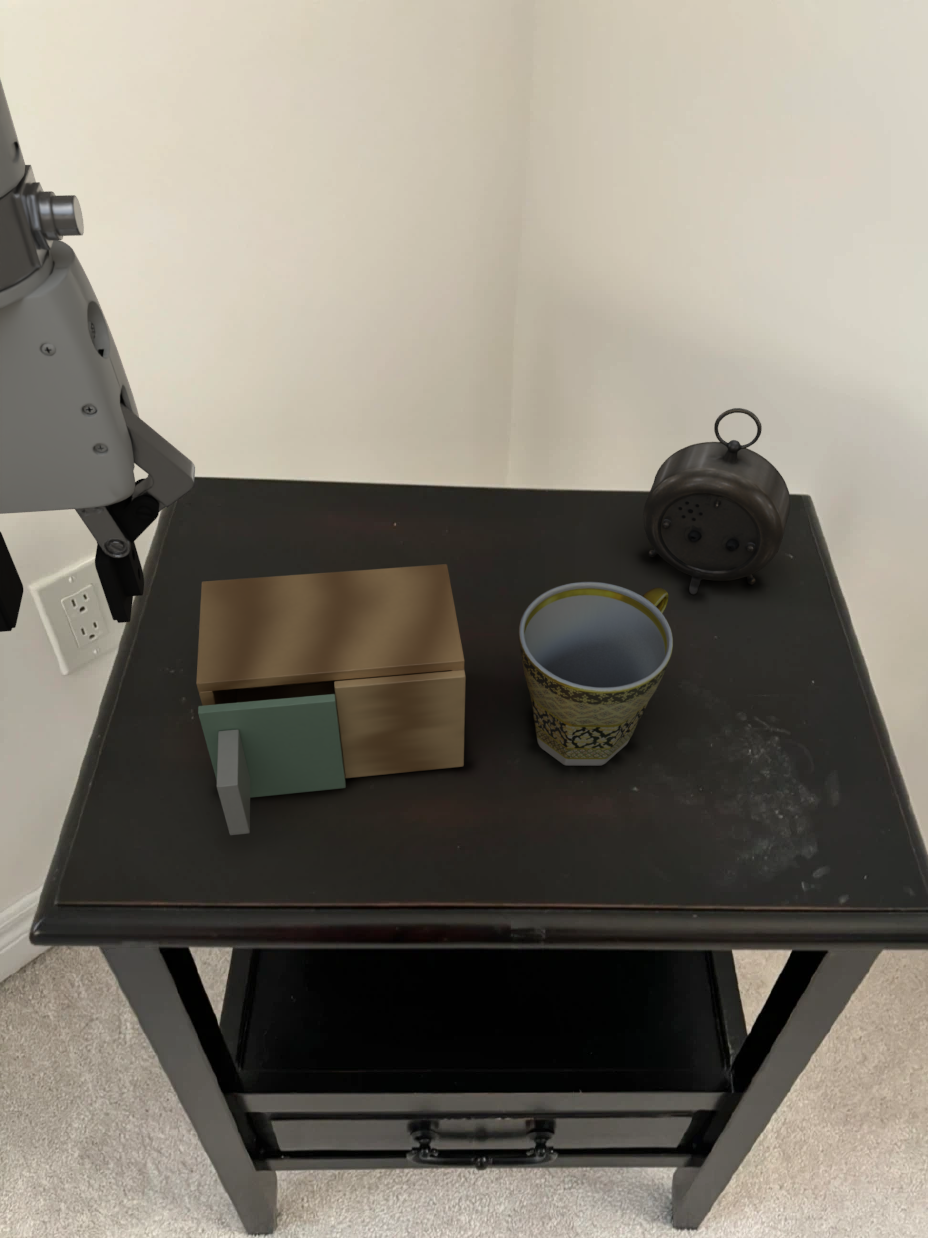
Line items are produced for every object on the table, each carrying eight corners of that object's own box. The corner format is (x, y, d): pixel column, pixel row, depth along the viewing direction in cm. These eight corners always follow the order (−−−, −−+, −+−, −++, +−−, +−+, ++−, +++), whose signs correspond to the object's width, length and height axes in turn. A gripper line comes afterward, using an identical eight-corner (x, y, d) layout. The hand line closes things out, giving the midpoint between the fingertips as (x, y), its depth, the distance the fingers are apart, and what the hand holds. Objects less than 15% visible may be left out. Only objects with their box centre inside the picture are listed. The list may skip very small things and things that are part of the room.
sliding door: (220, 856, 64) (194, 770, 58) (222, 793, 67) (198, 705, 61) (349, 842, 65) (339, 756, 59) (345, 781, 69) (334, 693, 62)
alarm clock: (769, 575, 86) (822, 406, 74) (758, 617, 83) (812, 447, 71) (643, 542, 88) (674, 373, 76) (627, 582, 85) (657, 411, 73)
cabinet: (224, 798, 68) (195, 691, 60) (227, 690, 75) (201, 581, 67) (463, 773, 71) (465, 667, 63) (446, 671, 77) (447, 563, 69)
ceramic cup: (589, 813, 69) (606, 716, 62) (482, 731, 73) (486, 631, 66) (702, 709, 76) (730, 611, 68) (598, 640, 80) (614, 540, 73)
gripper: (181, 184, 40) (248, 545, 54) (-297, 192, 38) (-101, 568, 51) (170, 276, 35) (247, 648, 49) (-381, 292, 33) (-139, 679, 46)
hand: (68, 604), depth 50 cm, fingers open, 4 cm apart
